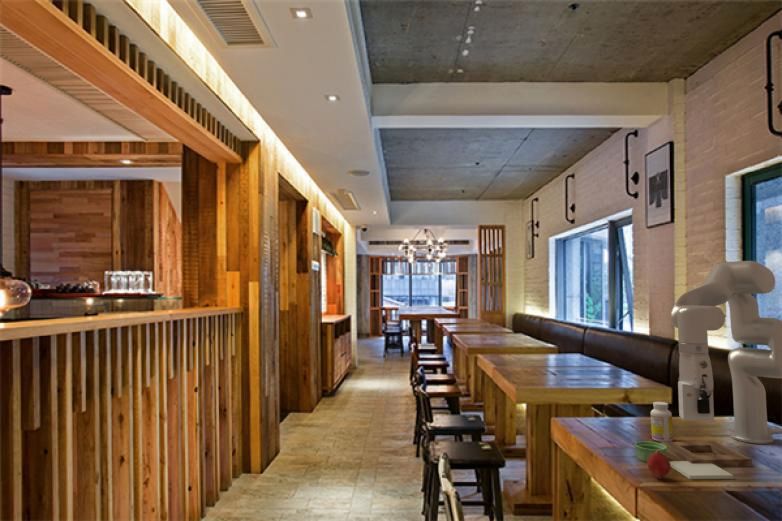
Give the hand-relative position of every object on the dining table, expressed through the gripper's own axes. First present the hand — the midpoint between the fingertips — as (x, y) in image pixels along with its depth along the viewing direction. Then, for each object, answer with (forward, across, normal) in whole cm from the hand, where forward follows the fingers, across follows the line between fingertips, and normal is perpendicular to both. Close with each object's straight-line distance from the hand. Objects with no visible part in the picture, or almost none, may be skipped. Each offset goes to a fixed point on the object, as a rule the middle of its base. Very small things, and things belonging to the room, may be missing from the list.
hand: (696, 409), depth 152 cm
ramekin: (+18, +11, +8) cm, 23 cm away
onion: (+18, -5, +14) cm, 23 cm away
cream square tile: (+18, 0, 0) cm, 18 cm away
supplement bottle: (+18, +31, -5) cm, 36 cm away
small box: (+3, 0, 0) cm, 3 cm away
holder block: (+18, +13, -9) cm, 24 cm away
